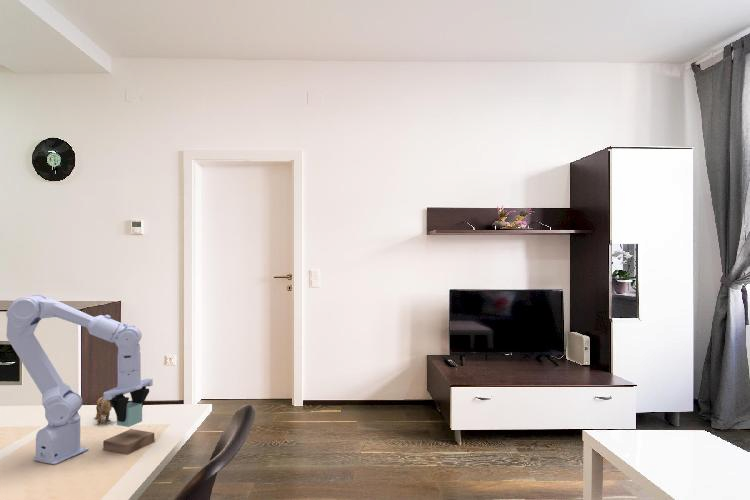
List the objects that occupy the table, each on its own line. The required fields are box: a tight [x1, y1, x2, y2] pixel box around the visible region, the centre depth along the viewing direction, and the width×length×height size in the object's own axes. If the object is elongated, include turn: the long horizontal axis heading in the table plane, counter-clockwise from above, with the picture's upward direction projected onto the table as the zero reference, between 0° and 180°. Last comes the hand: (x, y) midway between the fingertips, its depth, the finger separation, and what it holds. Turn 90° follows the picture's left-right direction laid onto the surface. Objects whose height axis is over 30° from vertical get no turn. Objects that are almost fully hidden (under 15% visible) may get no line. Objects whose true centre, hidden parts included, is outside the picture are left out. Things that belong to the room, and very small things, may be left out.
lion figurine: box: [94, 396, 113, 426], centre depth 148 cm, size 15×5×9 cm, turn 44°
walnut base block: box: [102, 428, 155, 455], centre depth 127 cm, size 9×9×2 cm
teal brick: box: [116, 401, 143, 428], centre depth 127 cm, size 4×4×5 cm
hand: (129, 418), depth 127 cm, fingers closed on teal brick, 4 cm apart
